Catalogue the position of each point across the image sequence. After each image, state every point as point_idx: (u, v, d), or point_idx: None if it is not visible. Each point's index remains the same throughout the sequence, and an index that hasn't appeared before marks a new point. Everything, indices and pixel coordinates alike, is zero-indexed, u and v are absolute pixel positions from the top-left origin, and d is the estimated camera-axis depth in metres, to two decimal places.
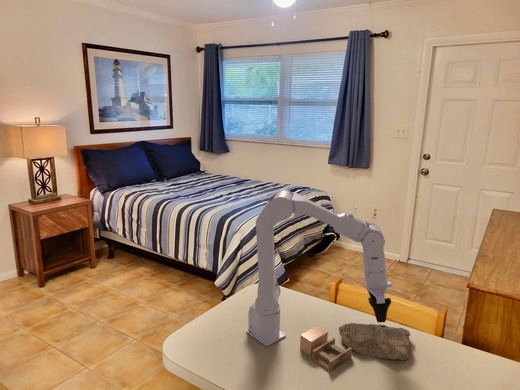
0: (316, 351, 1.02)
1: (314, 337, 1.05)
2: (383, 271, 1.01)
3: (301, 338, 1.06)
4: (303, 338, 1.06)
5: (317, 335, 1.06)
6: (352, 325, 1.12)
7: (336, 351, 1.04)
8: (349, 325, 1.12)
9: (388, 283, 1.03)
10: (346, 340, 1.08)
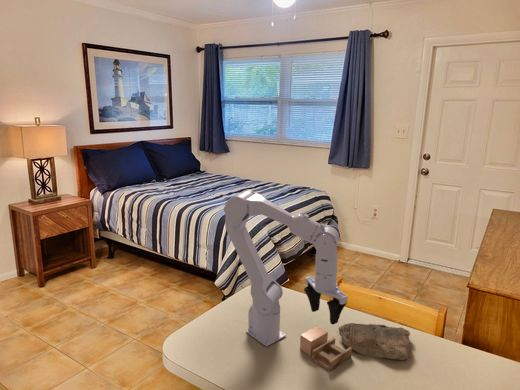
0: (316, 351, 1.02)
1: (314, 337, 1.05)
2: (336, 272, 1.02)
3: (301, 338, 1.06)
4: (303, 338, 1.06)
5: (317, 335, 1.06)
6: (352, 325, 1.12)
7: (336, 351, 1.04)
8: (348, 325, 1.12)
9: None
10: (346, 340, 1.07)
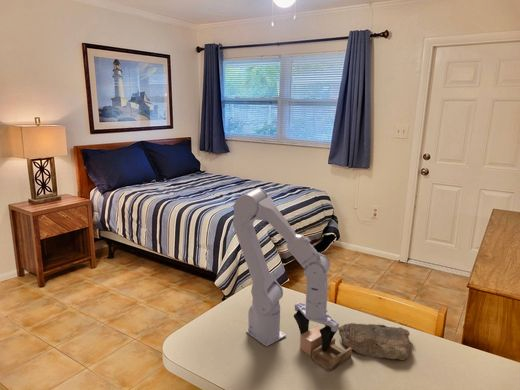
0: (316, 351, 1.02)
1: (314, 337, 1.05)
2: None
3: (301, 338, 1.06)
4: (303, 338, 1.06)
5: (317, 335, 1.06)
6: (352, 325, 1.12)
7: (336, 351, 1.04)
8: (348, 325, 1.12)
9: None
10: (346, 340, 1.07)
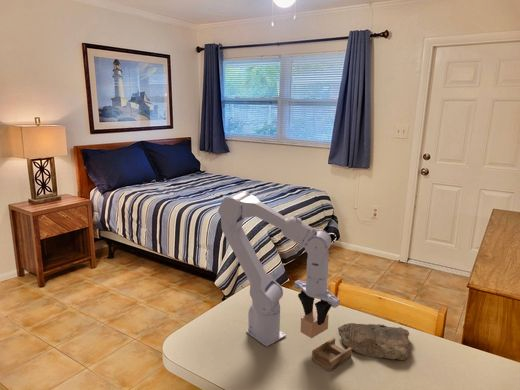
0: (316, 351, 1.02)
1: (315, 320, 1.04)
2: (327, 275, 1.03)
3: (302, 321, 1.05)
4: (303, 321, 1.04)
5: None
6: (351, 325, 1.12)
7: (336, 351, 1.04)
8: (348, 325, 1.12)
9: None
10: (345, 340, 1.07)
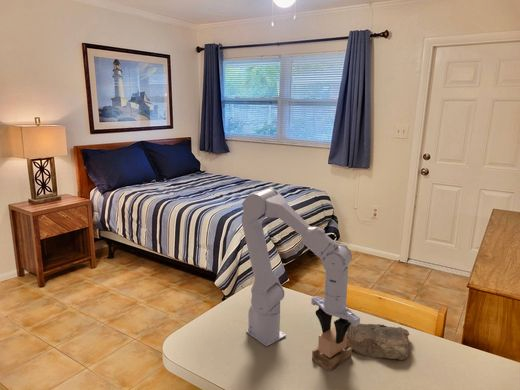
0: (316, 351, 1.02)
1: (333, 338, 1.00)
2: (346, 292, 0.98)
3: (319, 339, 1.01)
4: (321, 339, 1.00)
5: None
6: (351, 325, 1.12)
7: None
8: None
9: None
10: None
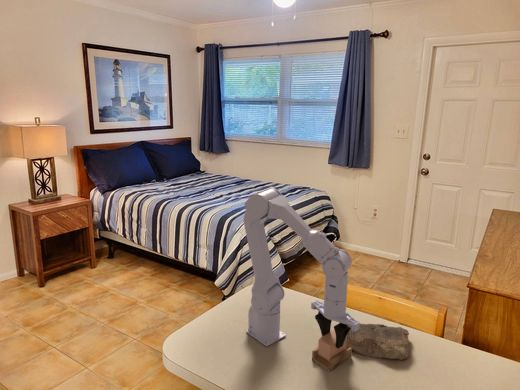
0: (316, 351, 1.02)
1: (333, 341, 1.00)
2: None
3: (319, 342, 1.01)
4: (321, 342, 1.00)
5: None
6: None
7: None
8: None
9: None
10: None
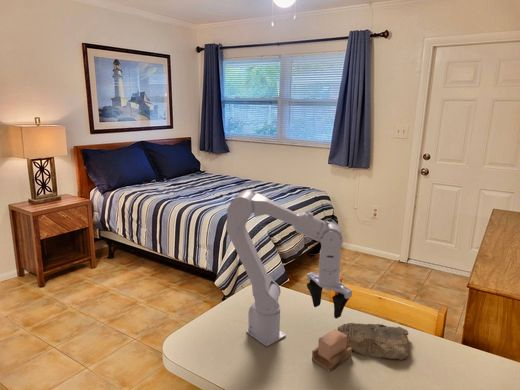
0: (316, 351, 1.02)
1: (333, 341, 1.00)
2: None
3: (319, 342, 1.01)
4: (321, 342, 1.00)
5: (336, 339, 1.01)
6: (351, 325, 1.12)
7: None
8: (347, 325, 1.12)
9: None
10: None
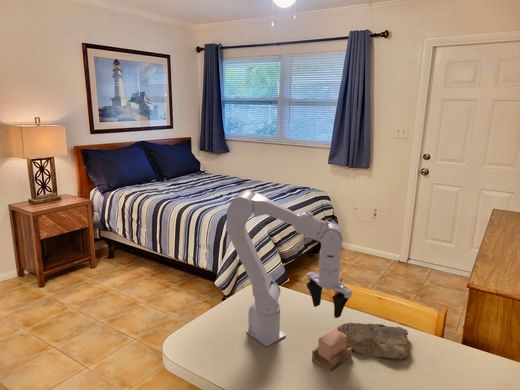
0: (316, 351, 1.02)
1: (333, 341, 1.00)
2: None
3: (319, 342, 1.01)
4: (321, 342, 1.00)
5: (336, 339, 1.01)
6: (350, 325, 1.12)
7: None
8: (347, 325, 1.12)
9: None
10: None
